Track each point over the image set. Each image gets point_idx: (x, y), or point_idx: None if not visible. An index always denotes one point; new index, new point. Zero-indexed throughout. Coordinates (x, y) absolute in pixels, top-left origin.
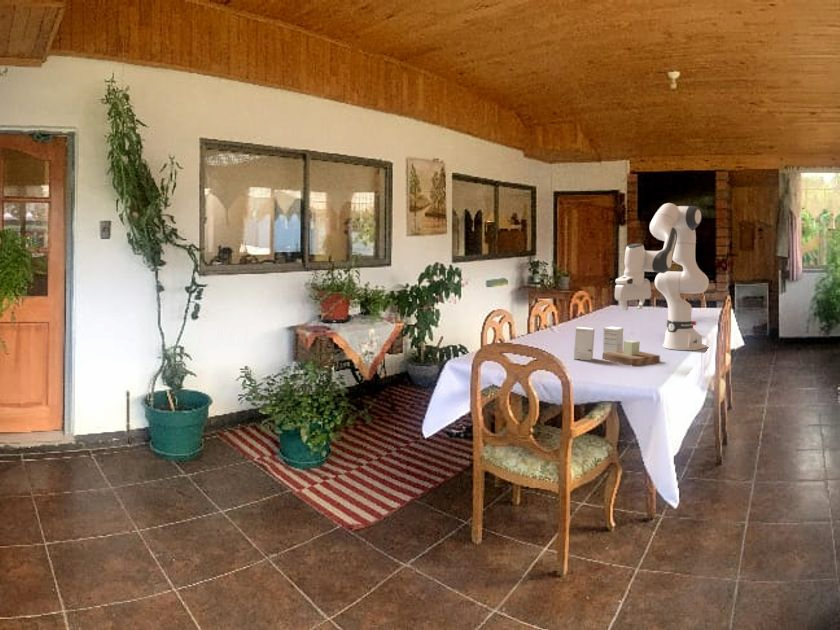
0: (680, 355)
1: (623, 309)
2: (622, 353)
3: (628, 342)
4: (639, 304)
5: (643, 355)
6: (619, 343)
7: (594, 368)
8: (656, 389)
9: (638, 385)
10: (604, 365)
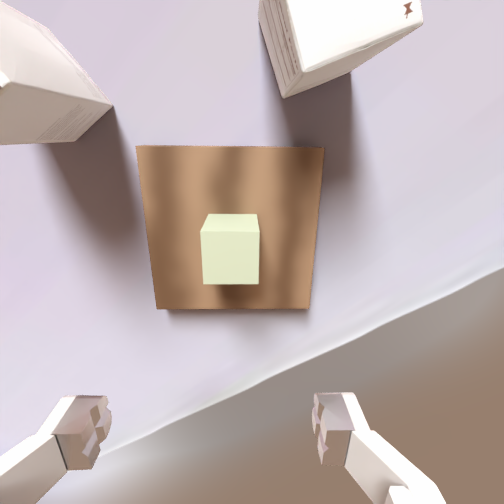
0: (479, 254)
1: (65, 404)
2: (211, 206)
3: (202, 262)
4: (353, 444)
5: None
6: (318, 81)
7: (6, 263)
8: None
9: None
10: (74, 243)
